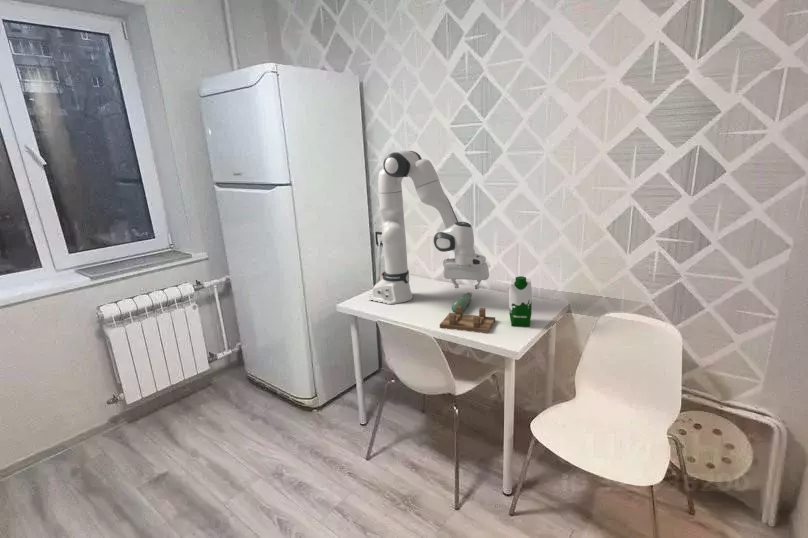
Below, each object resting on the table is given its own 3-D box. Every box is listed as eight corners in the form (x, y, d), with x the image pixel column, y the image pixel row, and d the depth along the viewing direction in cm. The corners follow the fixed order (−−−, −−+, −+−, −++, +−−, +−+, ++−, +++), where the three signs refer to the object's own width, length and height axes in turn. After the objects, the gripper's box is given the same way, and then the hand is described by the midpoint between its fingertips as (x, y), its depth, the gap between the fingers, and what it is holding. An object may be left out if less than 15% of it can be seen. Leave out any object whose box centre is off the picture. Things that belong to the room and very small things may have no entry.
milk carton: (509, 327, 168) (509, 279, 162) (509, 318, 176) (509, 272, 171) (532, 327, 165) (532, 279, 160) (530, 318, 174) (531, 272, 169)
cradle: (488, 333, 163) (487, 320, 162) (439, 327, 171) (439, 315, 170) (495, 320, 174) (495, 308, 173) (449, 316, 183) (449, 304, 181)
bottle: (464, 310, 183) (457, 301, 183) (456, 316, 185) (449, 307, 185) (476, 295, 199) (469, 287, 200) (468, 301, 202) (461, 293, 202)
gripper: (440, 260, 186) (442, 289, 190) (485, 261, 177) (487, 291, 181) (444, 256, 191) (447, 285, 195) (489, 257, 183) (490, 287, 187)
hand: (466, 288), depth 188 cm, fingers open, 8 cm apart
